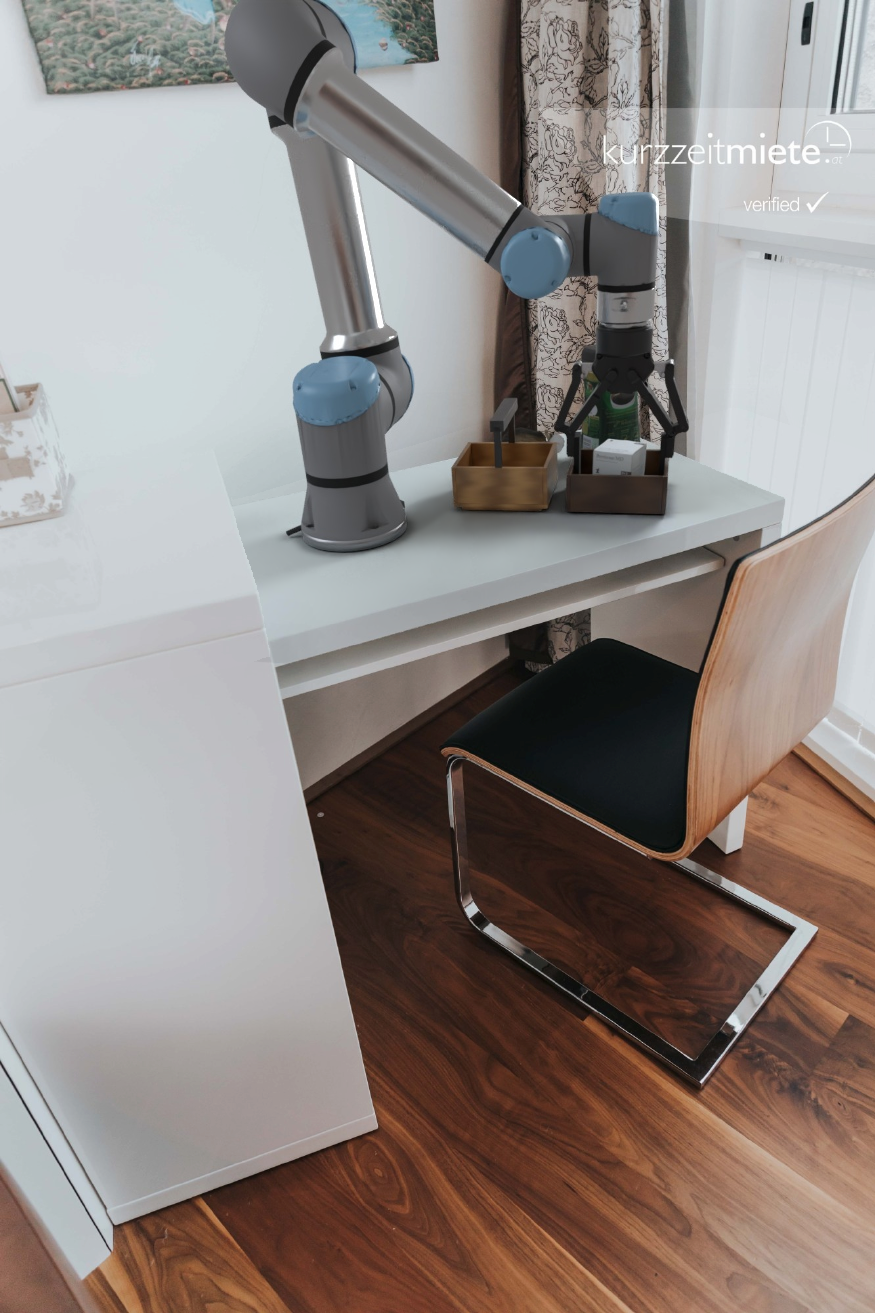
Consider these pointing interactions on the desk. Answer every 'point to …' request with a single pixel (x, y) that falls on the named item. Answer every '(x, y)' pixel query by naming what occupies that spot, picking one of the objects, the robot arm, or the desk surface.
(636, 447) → the product carton
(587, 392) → the coffee jar
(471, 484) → the box
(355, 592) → the desk surface
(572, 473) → the dark brown wooden box
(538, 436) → the eagle figurine
